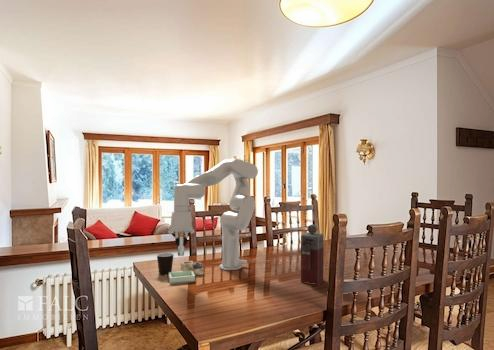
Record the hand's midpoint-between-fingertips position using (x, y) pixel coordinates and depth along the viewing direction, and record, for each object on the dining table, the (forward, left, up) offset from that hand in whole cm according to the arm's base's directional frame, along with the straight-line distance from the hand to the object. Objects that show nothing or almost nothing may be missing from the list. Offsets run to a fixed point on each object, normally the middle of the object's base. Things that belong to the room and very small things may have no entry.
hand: (181, 245), depth 167 cm
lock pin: (0, 0, -5) cm, 5 cm away
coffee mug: (+6, -15, -17) cm, 24 cm away
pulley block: (-7, -10, -17) cm, 21 cm away
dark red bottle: (-61, +21, -17) cm, 67 cm away
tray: (0, 0, -17) cm, 17 cm away
